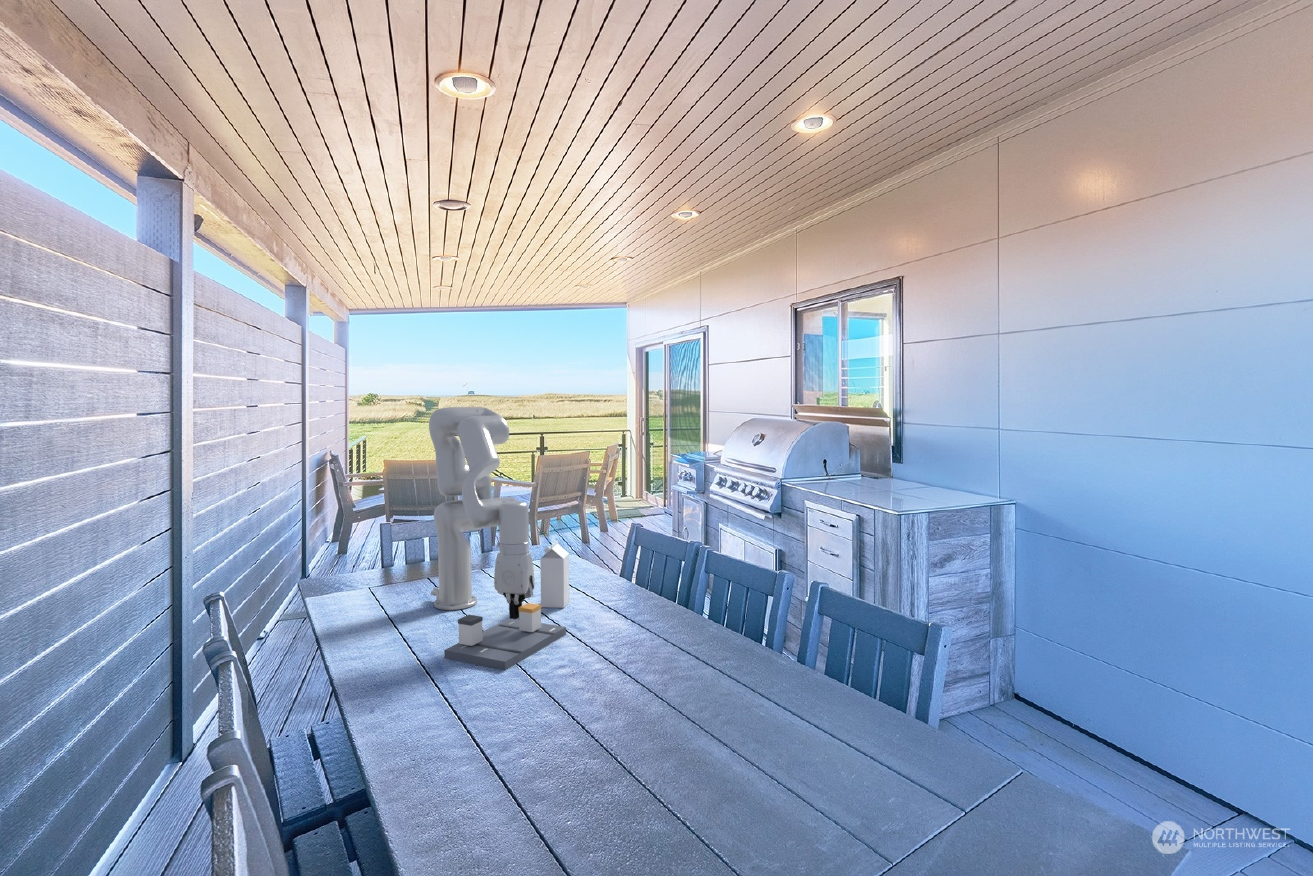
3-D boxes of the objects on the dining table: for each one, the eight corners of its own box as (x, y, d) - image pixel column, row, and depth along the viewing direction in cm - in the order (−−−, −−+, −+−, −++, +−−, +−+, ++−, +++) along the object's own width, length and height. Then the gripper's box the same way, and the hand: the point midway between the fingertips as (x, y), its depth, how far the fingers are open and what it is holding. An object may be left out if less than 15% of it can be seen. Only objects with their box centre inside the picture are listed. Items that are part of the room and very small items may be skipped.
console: (444, 658, 164) (444, 649, 164) (510, 625, 187) (510, 617, 187) (505, 670, 156) (505, 661, 156) (566, 634, 180) (566, 626, 180)
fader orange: (518, 630, 176) (518, 607, 176) (528, 625, 180) (528, 603, 180) (532, 632, 175) (532, 609, 174) (541, 627, 178) (541, 604, 178)
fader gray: (458, 643, 167) (457, 619, 166) (469, 638, 171) (469, 614, 170) (471, 646, 165) (471, 621, 165) (483, 640, 169) (482, 616, 169)
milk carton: (569, 601, 209) (568, 540, 208) (564, 608, 202) (563, 545, 201) (547, 600, 210) (546, 540, 209) (540, 608, 203) (539, 545, 202)
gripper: (482, 549, 178) (483, 618, 179) (529, 554, 171) (530, 625, 172) (500, 543, 184) (501, 610, 185) (546, 548, 178) (547, 617, 179)
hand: (515, 617), depth 179 cm, fingers closed
